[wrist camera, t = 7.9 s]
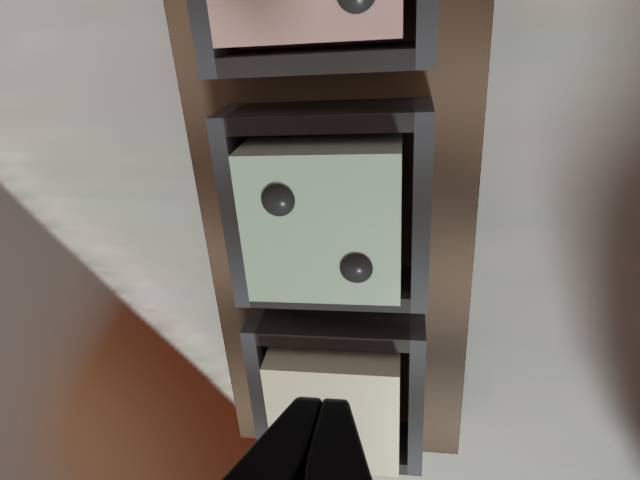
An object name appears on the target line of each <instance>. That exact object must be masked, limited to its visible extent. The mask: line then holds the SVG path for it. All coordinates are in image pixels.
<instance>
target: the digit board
mask: <svg viewBox="0 0 640 480" xmlns="http://www.w3.org/2000/svg"><path fill="white" fill-rule="evenodd" d="M163 2H164V7H165V13H166V19H167V24H168V30H169V36H170V41H171V47H172V52H173V58H174V64H175V69H176V75H177V80H178V86H179V92H180V97H181V103H182V109H183V114H184V120H185V125H186V131H187V137H188V142H189V148H190V153H191V159H192V165H193V170H194V176H195V182H196V187H197V193H198V198H199V204H200V210H201V215H202V221H203V227H204V232H205V238H206V243H207V249H208V255H209V260H210V266H211V271H212V277H213V283H214V288H215V294H216V300H217V305H218V311H219V316H220V322H221V328H222V333H223V339H224V344H225V350H226V356H227V361H228V367H229V373H230V378H231V384H232V389H233V395H234V401H235V406H236V411H237V417H238V423H239V429H240V434H241V437H247V438H256V439H257V440H258V439H259V438H260V437H261V436H262V435H263V433H264V432H265V431H266V430H267V429H268V423H267V416H266V409H265V402H264V395H263V388H262V381H261V375H260V368H261V365H262V363H263V360H264V357H265V355H266V352H267V350H268V347H289V348H310V349H332V350H353V351H374V352H395V353H400V439H399V474H401V475H413V476H422V451H424V452H437V453H450V454H458V446H459V434H460V421H461V409H462V396H463V384H464V371H465V359H466V347H467V334H468V322H469V309H470V297H471V284H472V272H473V259H474V247H475V234H476V222H477V209H478V197H479V185H480V172H481V160H482V147H483V135H484V122H485V110H486V97H487V85H488V72H489V60H490V48H491V35H492V23H493V10H494V0H404V11H403V38H401V39H382V40H363V41H344V42H325V43H306V44H288V45H269V46H250V47H231V48H213V44H212V37H211V30H210V23H209V16H208V9H207V2H206V0H163ZM376 133H402V228H401V301H400V306H378V305H347V304H317V303H286V302H255V301H249V296H248V289H247V282H246V276H245V269H244V262H243V255H242V248H241V241H240V234H239V227H238V220H237V213H236V207H235V200H234V193H233V186H232V179H231V172H230V165H229V158H228V156H229V155H230V154H231V153H232V152H234V151H235V150H236V149H237V148H238V147H239V146H240V145H241V144H242V143H243V142H244V141H245V140H246V139H247V138H248V137H250V136H288V135H332V134H376Z"/></svg>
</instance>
